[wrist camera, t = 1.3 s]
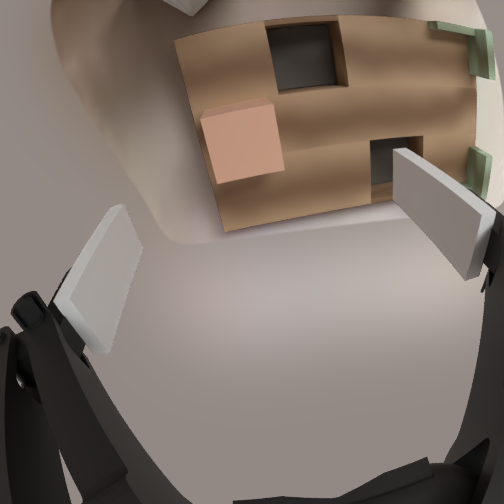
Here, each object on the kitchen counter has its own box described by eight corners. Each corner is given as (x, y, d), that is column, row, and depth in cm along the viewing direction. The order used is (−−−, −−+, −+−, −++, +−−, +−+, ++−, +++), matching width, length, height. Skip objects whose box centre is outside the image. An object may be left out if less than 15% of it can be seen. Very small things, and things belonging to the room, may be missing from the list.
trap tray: (179, 42, 21) (166, 37, 16) (454, 29, 19) (491, 31, 15) (224, 216, 31) (224, 250, 27) (456, 176, 30) (486, 199, 25)
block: (204, 110, 22) (200, 119, 19) (266, 97, 22) (273, 103, 19) (218, 166, 25) (217, 184, 22) (276, 154, 25) (284, 170, 22)
